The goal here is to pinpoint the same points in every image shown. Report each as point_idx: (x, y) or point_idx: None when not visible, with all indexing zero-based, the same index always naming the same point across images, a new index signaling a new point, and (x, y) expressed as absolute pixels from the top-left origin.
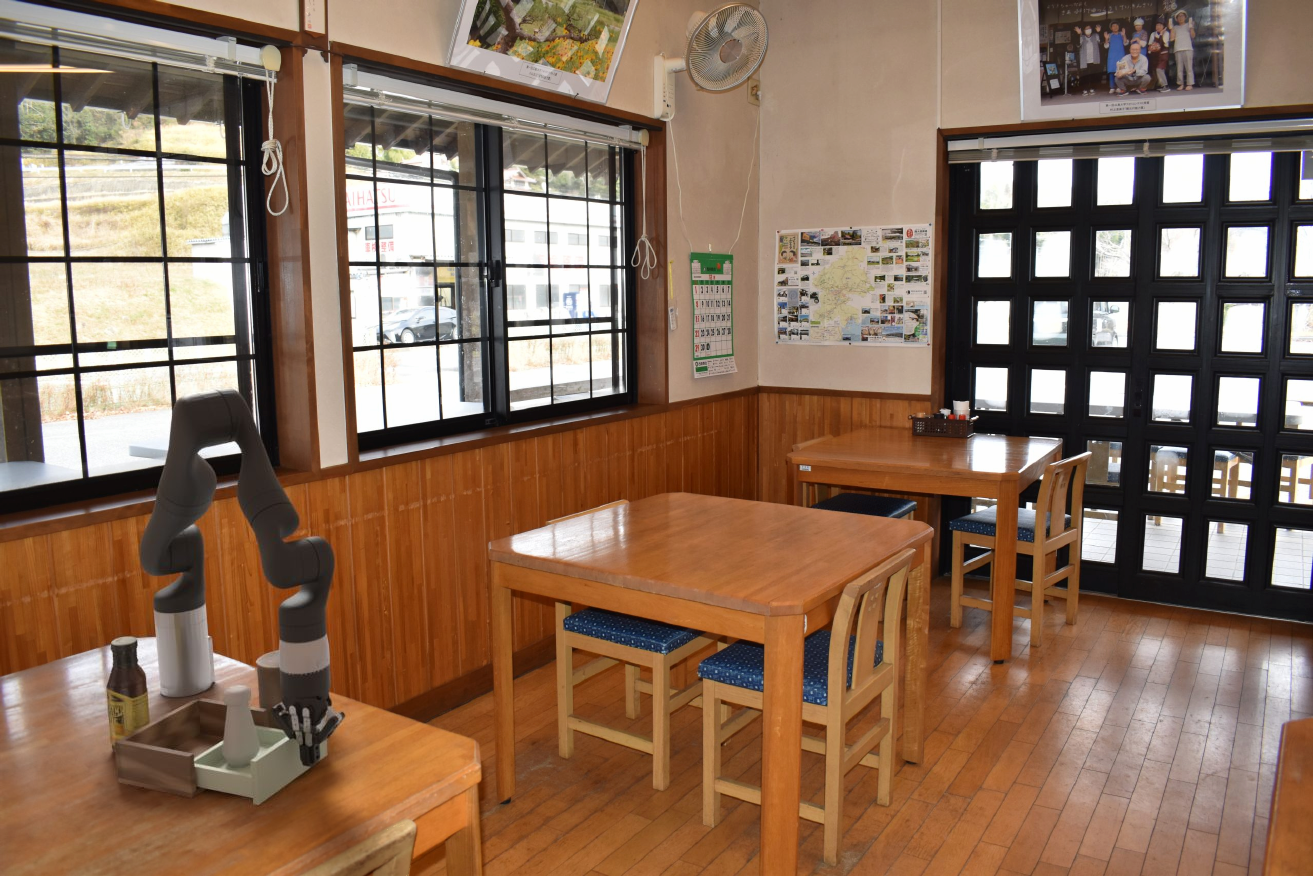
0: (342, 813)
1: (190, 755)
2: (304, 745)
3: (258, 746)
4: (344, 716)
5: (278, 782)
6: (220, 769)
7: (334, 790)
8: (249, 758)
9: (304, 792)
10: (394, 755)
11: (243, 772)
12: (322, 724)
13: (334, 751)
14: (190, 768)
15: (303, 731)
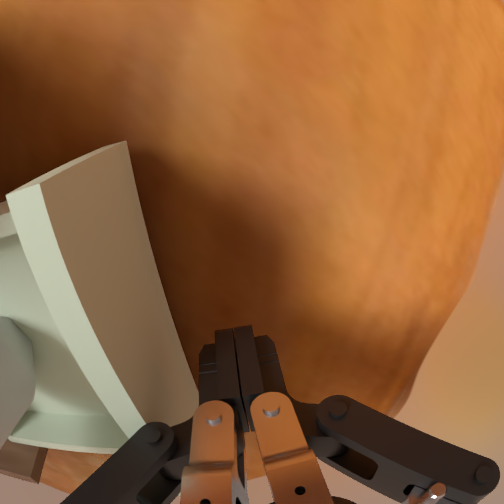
0: (392, 333)
1: (35, 481)
2: (245, 431)
3: (9, 358)
4: (494, 465)
5: (188, 384)
6: (76, 448)
7: (313, 278)
8: (33, 370)
9: (239, 322)
10: (345, 10)
11: (59, 374)
12: (314, 457)
13: (106, 81)
14: (43, 460)
15: (245, 484)
